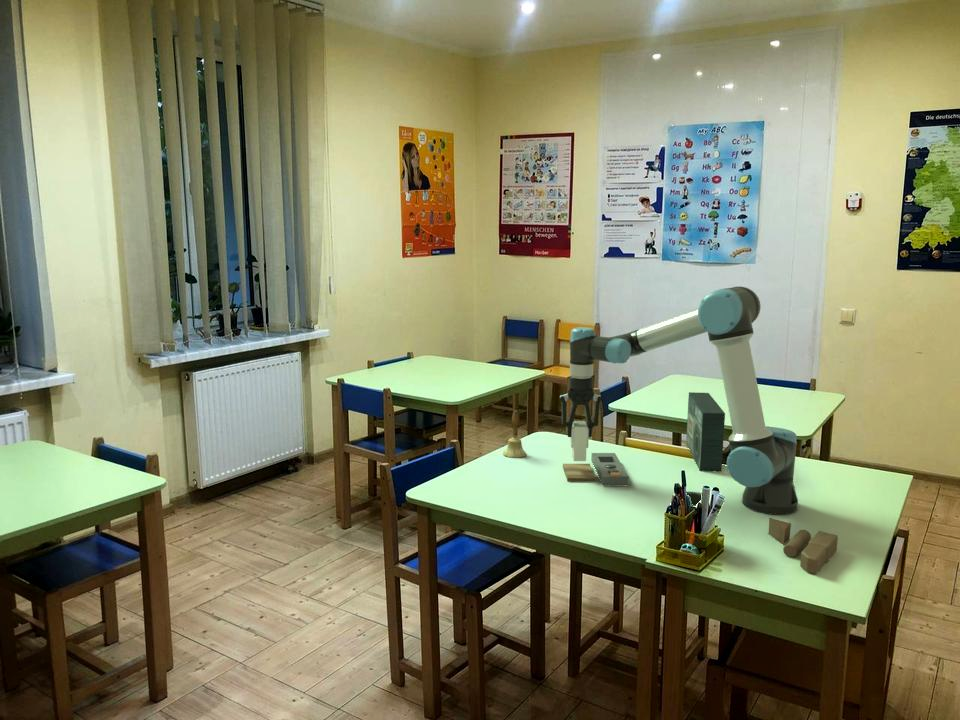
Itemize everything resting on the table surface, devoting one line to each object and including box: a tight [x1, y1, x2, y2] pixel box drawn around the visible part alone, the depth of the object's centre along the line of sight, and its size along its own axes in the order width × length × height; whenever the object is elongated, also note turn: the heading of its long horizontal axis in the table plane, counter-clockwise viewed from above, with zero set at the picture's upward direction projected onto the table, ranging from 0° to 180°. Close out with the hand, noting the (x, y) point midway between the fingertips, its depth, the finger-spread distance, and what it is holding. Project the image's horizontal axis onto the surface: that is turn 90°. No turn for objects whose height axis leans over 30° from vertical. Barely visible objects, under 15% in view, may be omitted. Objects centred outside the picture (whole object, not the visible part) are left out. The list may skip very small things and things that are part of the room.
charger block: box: [571, 420, 588, 462], centre depth 242 cm, size 5×4×12 cm
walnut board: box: [562, 463, 597, 483], centre depth 244 cm, size 14×9×1 cm, turn 0°
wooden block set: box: [767, 517, 839, 575], centre depth 186 cm, size 17×6×18 cm
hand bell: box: [502, 410, 527, 459], centre depth 263 cm, size 8×8×16 cm
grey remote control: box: [590, 452, 630, 486], centre depth 244 cm, size 24×8×4 cm, turn 0°
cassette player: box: [685, 391, 726, 473], centre depth 259 cm, size 29×7×20 cm, turn 173°
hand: (579, 446), depth 242 cm, fingers closed on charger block, 4 cm apart
